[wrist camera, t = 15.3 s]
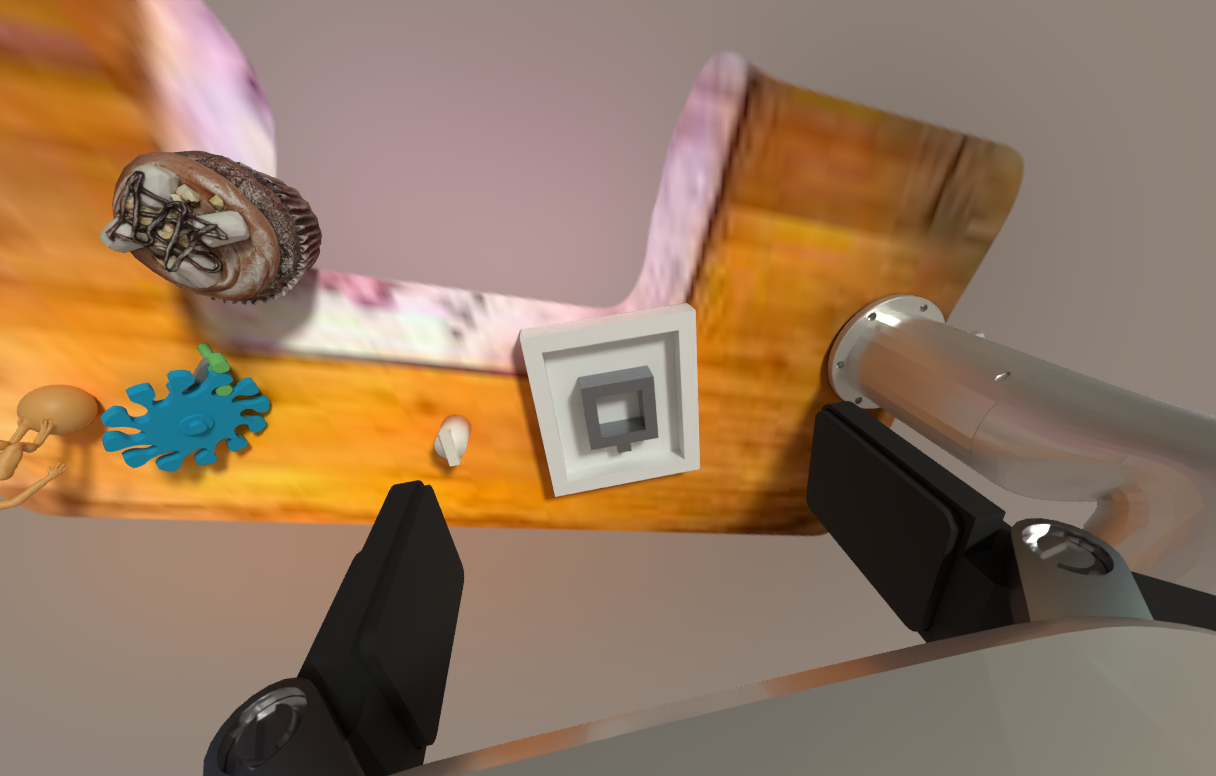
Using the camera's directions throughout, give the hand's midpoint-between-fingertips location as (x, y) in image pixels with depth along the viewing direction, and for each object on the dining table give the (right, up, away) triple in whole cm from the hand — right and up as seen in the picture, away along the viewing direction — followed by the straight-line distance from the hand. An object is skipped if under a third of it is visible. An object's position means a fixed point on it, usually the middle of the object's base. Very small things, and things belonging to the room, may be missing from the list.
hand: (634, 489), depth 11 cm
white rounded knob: (-16, -1, +32) cm, 36 cm away
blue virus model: (-34, +2, +28) cm, 44 cm away
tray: (0, +1, +33) cm, 34 cm away
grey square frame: (0, +1, +33) cm, 33 cm away
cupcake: (-27, +15, +23) cm, 38 cm away
